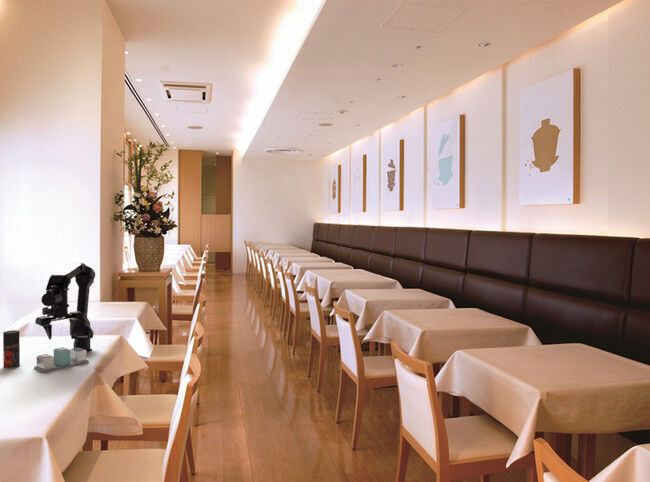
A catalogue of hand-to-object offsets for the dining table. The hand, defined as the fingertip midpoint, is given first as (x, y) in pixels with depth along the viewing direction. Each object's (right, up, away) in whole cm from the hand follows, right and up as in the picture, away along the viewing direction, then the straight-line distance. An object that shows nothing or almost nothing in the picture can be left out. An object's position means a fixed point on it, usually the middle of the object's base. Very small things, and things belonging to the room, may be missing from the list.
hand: (60, 337), depth 219 cm
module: (+2, -11, -3) cm, 11 cm away
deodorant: (-18, -12, -5) cm, 22 cm away
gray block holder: (+2, -12, -3) cm, 12 cm away
